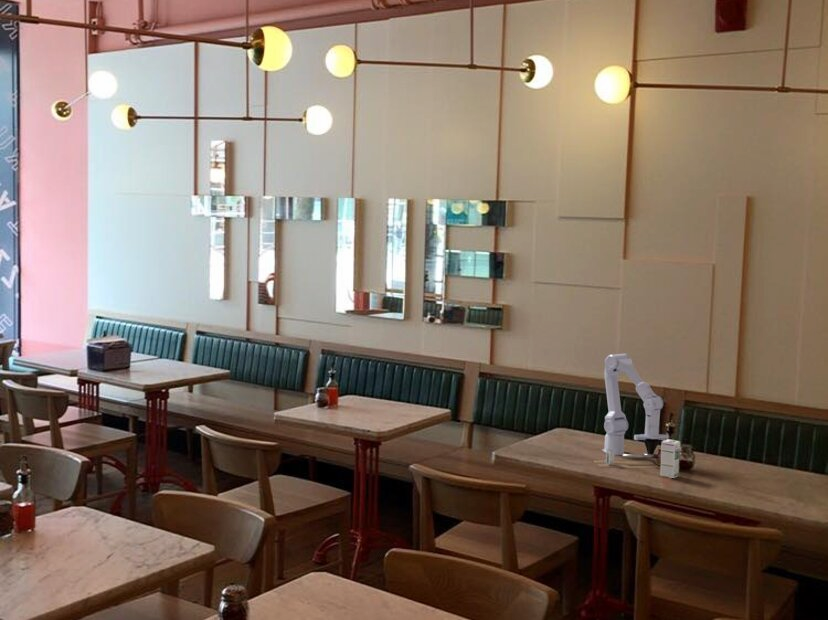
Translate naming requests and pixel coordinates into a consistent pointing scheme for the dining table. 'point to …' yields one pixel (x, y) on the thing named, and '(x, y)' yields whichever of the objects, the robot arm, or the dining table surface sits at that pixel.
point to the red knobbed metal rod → (647, 456)
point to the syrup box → (670, 458)
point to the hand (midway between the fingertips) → (650, 456)
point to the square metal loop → (609, 458)
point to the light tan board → (627, 464)
